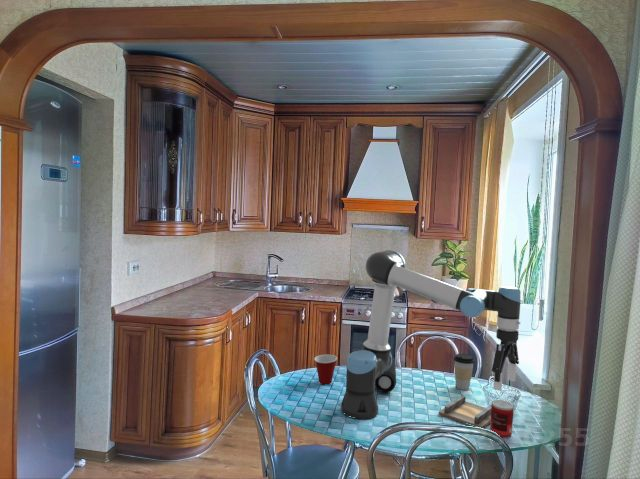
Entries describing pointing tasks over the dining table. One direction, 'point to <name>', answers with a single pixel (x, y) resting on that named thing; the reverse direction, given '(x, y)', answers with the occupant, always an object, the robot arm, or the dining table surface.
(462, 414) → the dock board
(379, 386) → the portable speaker
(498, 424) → the canned food
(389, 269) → the robot arm
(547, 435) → the dining table surface
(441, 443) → the dining table surface
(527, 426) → the dining table surface
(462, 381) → the coffee cup
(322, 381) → the plastic cup
